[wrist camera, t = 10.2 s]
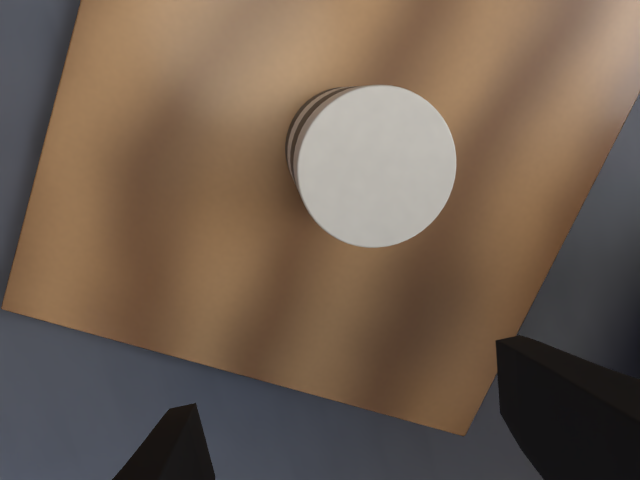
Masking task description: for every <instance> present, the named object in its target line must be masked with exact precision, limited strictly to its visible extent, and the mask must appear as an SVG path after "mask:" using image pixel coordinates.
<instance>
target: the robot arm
mask: <svg viewBox="0 0 640 480" xmlns="http://www.w3.org/2000/svg"><path fill="white" fill-rule="evenodd" d="M495 342H496V357H497V373H498V388H499V403H500V414H501V415H502V417H503V419H504V421H505V423H506V424H507V426H508V428H509V430H510V432H511V433H512V435H513V437H514V438H515V440H516V442H517V443H518V445H519V447H520V448H521V450H522V451H523V453H524V454H525V455H526V457H527V458H528V459H529V461H530V462H531V463H532V465H533V466H534V467H535V468H536V470H537V471H538V472H539V474H540V475H541V476H542V478H543V479H544V480H640V379H637V378H634V377H631V376H628V375H625V374H622V373H619V372H616V371H614V370H611V369H608V368H605V367H603V366H600V365H597V364H595V363H592V362H589V361H587V360H584V359H582V358H579V357H577V356H574V355H571V354H569V353H566V352H564V351H561V350H559V349H556V348H554V347H551V346H549V345H546V344H544V343H541V342H538V341H536V340H533V339H530V338H527V337H524V336H520V335H519V336H514V337H509V338H504V339H500V340H495ZM112 480H215V473H214V470H213V466H212V462H211V458H210V455H209V451H208V447H207V443H206V439H205V436H204V432H203V428H202V424H201V420H200V417H199V413H198V409H197V405H196V403H194V404H190V405H185V406H180V407H175V408H171V409H169V410H168V411H167V412H166V413H165V415H164V416H163V417H162V418H161V420H160V421H159V422H158V424H157V425H156V426H155V428H154V429H153V430H152V431H151V433H150V434H149V435H148V437H147V438H146V439H145V441H144V442H143V443H142V444H141V446H140V447H139V448H138V449H137V451H136V452H135V453H134V454H133V456H132V457H131V458H130V459H129V461H128V462H127V463H126V464H125V465H124V467H123V468H122V469H121V470H120V471H119V472H118V474H117V475H116V476H115V477H114V478H113V479H112Z"/></svg>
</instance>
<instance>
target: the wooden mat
mask: <svg viewBox="0 0 640 480" xmlns="http://www.w3.org/2000/svg"><path fill="white" fill-rule="evenodd" d="M368 85H390V86H395V87H400V88H403V89H406V90H409V91H412V92H413V93H415V94H417V95H419V96H421V97H422V98H424V99H425V100H427V101H428V102H429V103H430V104H431V105H432V106H433V107H434V108H435V109H436V110H437V111H438V112H439V113H440V115H441V116H442V117H443V119H444V120H445V122H446V124H447V125H448V128H449V130H450V132H451V135H452V138H453V141H454V145H455V151H456V174H455V180H454V184H453V188H452V191H451V193H450V196H449V198H448V200H447V202H446V204H445V206H444V207H443V209H442V210H441V212H440V213H439V215H438V216H437V217H436V218H435V219H434V221H433V222H432V223H431V224H430V225H428V226H427V227H426V228H425V229H424V230H423V231H421V232H420V233H418V234H417V235H416V236H414V237H412V238H410V239H408V240H406V241H404V242H401V243H398V244H395V245H391V246H387V247H379V248H366V247H359V246H354V245H351V244H347V243H345V242H342V241H340V240H338V239H336V238H335V237H333V236H331V235H330V234H328V233H327V232H326V231H325V230H323V229H322V228H321V227H320V226H319V225H318V224H317V223H316V222H315V221H314V219H313V218H312V217H311V215H310V214H309V212H308V210H307V209H306V207H305V205H304V203H303V201H302V198H301V196H300V194H299V192H298V189H297V187H296V185H295V183H294V180H293V178H292V176H291V174H290V171H289V169H288V165H287V161H286V155H285V142H286V136H287V132H288V129H289V126H290V124H291V121H292V119H293V118H294V116H295V114H296V113H297V111H298V110H299V109H300V108H301V107H302V106H303V105H304V104H305V103H306V102H307V101H308V100H309V99H311V98H312V97H313V96H315V95H317V94H319V93H321V92H323V91H326V90H328V89H333V88H338V87H351V86H368ZM639 93H640V0H81V2H80V6H79V9H78V13H77V17H76V21H75V25H74V29H73V33H72V36H71V40H70V44H69V48H68V52H67V56H66V60H65V63H64V67H63V71H62V75H61V79H60V83H59V87H58V90H57V94H56V98H55V102H54V106H53V110H52V114H51V117H50V121H49V125H48V129H47V133H46V137H45V141H44V144H43V148H42V152H41V156H40V160H39V164H38V168H37V171H36V175H35V179H34V183H33V187H32V191H31V195H30V198H29V202H28V206H27V210H26V214H25V218H24V222H23V225H22V229H21V233H20V237H19V241H18V245H17V249H16V252H15V256H14V260H13V264H12V268H11V272H10V276H9V279H8V283H7V287H6V291H5V295H4V299H3V303H2V306H1V309H3V310H6V311H10V312H14V313H17V314H21V315H25V316H28V317H32V318H35V319H39V320H43V321H46V322H50V323H54V324H57V325H61V326H65V327H68V328H72V329H75V330H79V331H83V332H86V333H90V334H94V335H97V336H101V337H105V338H108V339H112V340H115V341H119V342H123V343H126V344H130V345H134V346H137V347H141V348H145V349H148V350H152V351H155V352H159V353H163V354H166V355H170V356H174V357H177V358H181V359H185V360H188V361H192V362H195V363H199V364H203V365H206V366H210V367H214V368H217V369H221V370H225V371H228V372H232V373H236V374H239V375H243V376H246V377H250V378H254V379H257V380H261V381H265V382H268V383H272V384H276V385H279V386H283V387H286V388H290V389H294V390H297V391H301V392H305V393H308V394H312V395H316V396H319V397H323V398H326V399H330V400H334V401H337V402H341V403H345V404H348V405H352V406H356V407H359V408H363V409H366V410H370V411H374V412H377V413H381V414H385V415H388V416H392V417H396V418H399V419H403V420H406V421H410V422H414V423H417V424H421V425H425V426H428V427H432V428H436V429H439V430H443V431H446V432H450V433H454V434H457V435H461V436H465V435H466V433H467V431H468V429H469V427H470V425H471V423H472V421H473V419H474V417H475V415H476V413H477V411H478V409H479V407H480V405H481V403H482V402H483V400H484V398H485V396H486V394H487V392H488V390H489V388H490V386H491V384H492V382H493V380H494V378H495V376H496V374H497V357H496V342H495V340H500V339H504V338H509V337H514V336H516V335H517V333H518V331H519V329H520V327H521V325H522V323H523V321H524V319H525V317H526V315H527V313H528V311H529V309H530V307H531V305H532V303H533V301H534V299H535V297H536V295H537V293H538V292H539V290H540V288H541V286H542V284H543V282H544V280H545V278H546V276H547V274H548V272H549V270H550V268H551V266H552V264H553V262H554V260H555V258H556V256H557V254H558V252H559V250H560V248H561V246H562V244H563V242H564V240H565V238H566V237H567V235H568V233H569V231H570V229H571V227H572V225H573V223H574V221H575V219H576V217H577V215H578V213H579V211H580V209H581V207H582V205H583V203H584V201H585V199H586V197H587V195H588V193H589V191H590V189H591V187H592V185H593V183H594V182H595V180H596V178H597V176H598V174H599V172H600V170H601V168H602V166H603V164H604V162H605V160H606V158H607V156H608V154H609V152H610V150H611V148H612V146H613V144H614V142H615V140H616V138H617V136H618V134H619V132H620V130H621V128H622V127H623V125H624V123H625V121H626V119H627V117H628V115H629V113H630V111H631V109H632V107H633V105H634V103H635V101H636V99H637V97H638V95H639Z"/></svg>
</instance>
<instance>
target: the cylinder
mask: <svg viewBox="0 0 640 480" xmlns="http://www.w3.org/2000/svg"><path fill="white" fill-rule="evenodd" d="M285 155H286V161H287V165H288V169H289V171H290V174H291V176H292V178H293V180H294V183H295V185H296V187H297V189H298V192H299V194H300V196H301V198H302V201H303V203H304V205H305V207H306V209H307V210H308V212H309V214H310V215H311V217H312V218H313V219H314V221H315V222H316V223H317V224H318V225H319V226H320V227H321V228H322V229H323V230H325V231H326V232H327V233H328V234H330V235H331V236H333V237H335V238H336V239H338V240H340V241H342V242H345V243H347V244H351V245H354V246H359V247H366V248H379V247H387V246H391V245H395V244H398V243H401V242H404V241H406V240H408V239H410V238H412V237H414V236H416V235H417V234H418V233H420V232H421V231H423V230H424V229H425V228H426V227H427V226H428V225H430V224H431V223H432V222H433V221H434V219H435V218H436V217H437V216H438V215H439V213H440V212H441V210H442V209H443V207H444V206H445V204H446V202H447V200H448V198H449V196H450V193H451V191H452V188H453V184H454V180H455V174H456V151H455V145H454V141H453V138H452V135H451V132H450V130H449V128H448V125H447V124H446V122H445V120H444V119H443V117H442V116H441V115H440V113H439V112H438V111H437V110H436V109H435V108H434V107H433V106H432V105H431V104H430V103H429V102H428V101H427V100H425V99H424V98H422V97H421V96H419V95H417V94H415V93H413V92H412V91H409V90H406V89H403V88H400V87H395V86H390V85H368V86H351V87H338V88H333V89H328V90H326V91H323V92H321V93H319V94H317V95H315V96H313V97H312V98H311V99H309V100H308V101H307V102H306V103H305V104H304V105H303V106H302V107H301V108H300V109H299V110H298V111H297V113H296V114H295V116H294V118H293V119H292V121H291V124H290V126H289V129H288V132H287V136H286V142H285Z"/></svg>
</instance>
